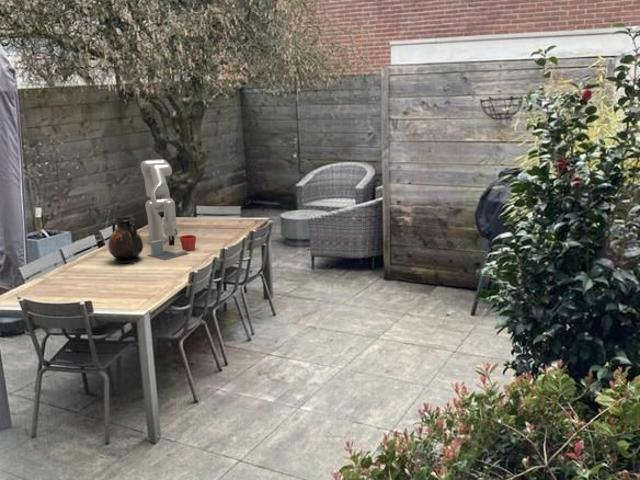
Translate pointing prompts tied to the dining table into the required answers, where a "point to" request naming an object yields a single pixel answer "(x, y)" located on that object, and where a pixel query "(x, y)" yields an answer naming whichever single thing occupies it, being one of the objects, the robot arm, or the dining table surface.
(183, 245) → the flower pot
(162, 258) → the mat
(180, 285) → the dining table surface
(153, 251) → the tile
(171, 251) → the tile
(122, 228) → the amphora vase
